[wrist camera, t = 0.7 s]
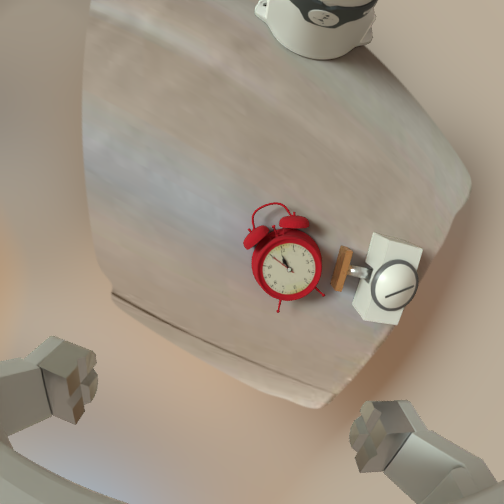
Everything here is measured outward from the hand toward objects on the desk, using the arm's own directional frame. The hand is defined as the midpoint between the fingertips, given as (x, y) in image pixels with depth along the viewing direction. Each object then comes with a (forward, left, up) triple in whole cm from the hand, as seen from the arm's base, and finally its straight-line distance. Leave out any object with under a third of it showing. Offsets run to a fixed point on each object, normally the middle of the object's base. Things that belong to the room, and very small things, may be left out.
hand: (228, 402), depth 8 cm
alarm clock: (+4, +6, -38) cm, 38 cm away
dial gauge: (+4, +22, -37) cm, 43 cm away
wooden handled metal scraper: (+4, +17, -36) cm, 40 cm away
